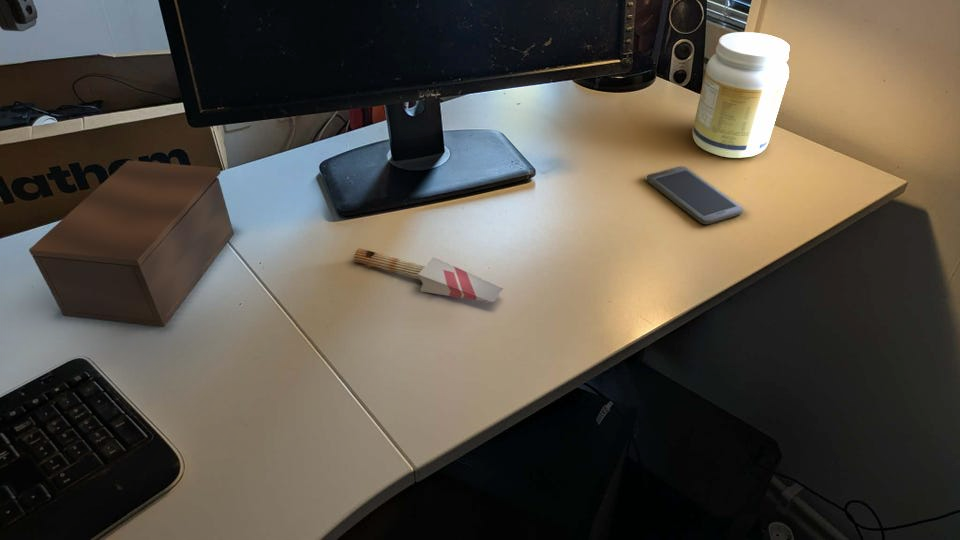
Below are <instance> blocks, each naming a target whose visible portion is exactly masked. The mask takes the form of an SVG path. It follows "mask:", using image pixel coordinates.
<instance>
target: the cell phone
mask: <svg viewBox="0 0 960 540" xmlns="http://www.w3.org/2000/svg"><path fill="white" fill-rule="evenodd" d="M645 180H646V181H647V183H649V184H650V185H651V186H653V188H655V189H656V190H658V191H659V192H660V193H662V194H663V195H664V196H665V197H667V198H668V199H669V200H671V202H673V203H674V204H676V205H677V206H678V207H680V208H681V209H682V210H683V211H685V212H686V213H687V214H688V215H690V216H691V217H692V218H694V219H695V220H696V221H698V222H699V223H700V224H703V225H709V224H710V225H711V224H714V223H717V222H720V221H723V220H727V219H730V218H733V217H736V216H739V215H741V214H742V213H743V212H744V208H743V206H742V205H740V204H739V203H738V202H736V201H734V200H733V199H731V197H729V196H728V195H726V194H725V193H723V192H721V191H720V190H719V189H717V188H716V187H715V186H713V185H712V184H710V183H709V182H707V181H706V180H705V179H703V178H702V177H701V176H699V175H697V173H695V172H693V171H692V170H690V169H689V168H688V167H686V166H682V165H681V166H676V167H672V168H669V169H665V170H661V171H657V172H654V173H650V174H647V175H646V179H645Z"/></svg>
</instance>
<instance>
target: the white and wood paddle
mask: <svg viewBox="0 0 960 540" xmlns="http://www.w3.org/2000/svg"><path fill="white" fill-rule="evenodd" d="M353 256H354V257H353V259H354V261H355V262H356V263H359V264H360V263H361V264H364V265H367V266H371V267H375V268H377V269H382V270H385V271H388V272H391V273H395V274H399V275H403V276H405V277H410V278H413V279H416V280H420V281H421V283H422V285H421V288H420V292H422V293H427V294H428V293H429V294H435V295H441V296H448V297H454V298H462V299H467V300H475V301H481V302H487V303H494V302H495V301H496V300H497V298H498V297H499V295H500V294H501V293H502V291H503V290H504V288H503V287H501V286H499V285H496V284H495V283H492V282H490V281H488V280H485V279H483V278H481V277H479V276H476V275H474V274H473V273H471V272H468V271H465V270H463V269H461V268H458V267H457V266H454V265H452V264H450V263H448V262H445V261H443V260H441V259H439V258H437V257H434V256H433V257H431V258H430V260H429V261H428V263H426V265H423V264H419V263H415V262H411V261H408V260H404V259H402V258H401V259H400V258H398V257H394V256H390V255H387V254H383V253H380V252H375V251H372V250H368V249H366V248H361V247H359V248H356V250H355V251H354V255H353Z"/></svg>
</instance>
